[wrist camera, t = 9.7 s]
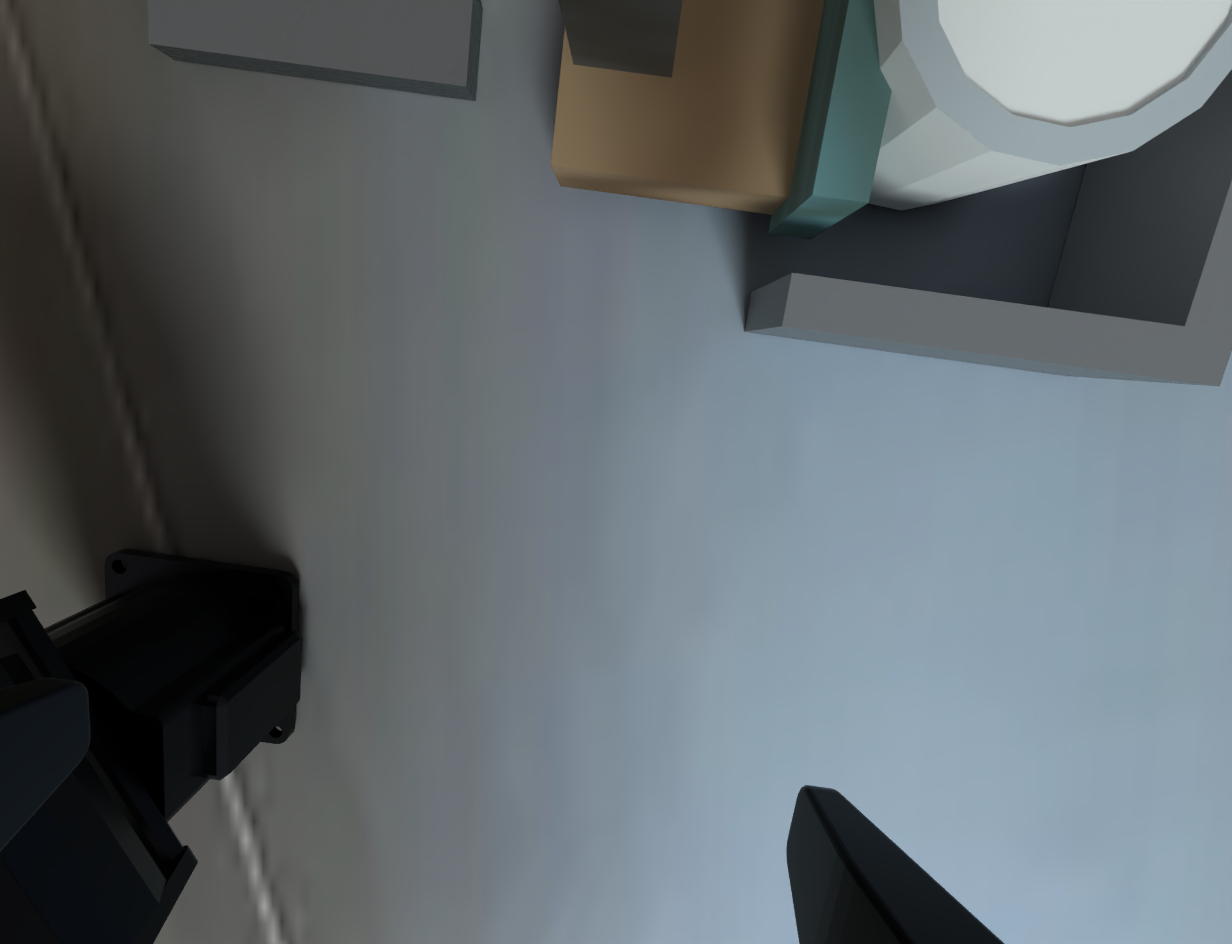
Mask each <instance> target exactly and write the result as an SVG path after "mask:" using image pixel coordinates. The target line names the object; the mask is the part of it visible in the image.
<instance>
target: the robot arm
mask: <svg viewBox="0 0 1232 944" xmlns="http://www.w3.org/2000/svg"><path fill="white" fill-rule="evenodd" d="M121 561H123V562H124V563H125V564H126V568H124V566H123V565H122V562H121ZM278 582H279V583H282V584H283V585H284V586H285V590H286V591H285V592H284V591H282V590H280V589H279V587H278V584H277V583H278ZM105 585H106V600H104V601H101V602H99V603H97V604H95V605H93V606H91V607H89V608H87V609H85V610H82V611H80V612H78V613H76V614H74V615H72V616H70V617H68V618H66V619H64V620H61V621H59V622H57V623H55V624H53V625H51V626H49V627H47V628H45V629H44V628H43V626H42V625H41V623H40V622H39V620H38V618H37V617H36V615H35V614H34V612H33V611H32V610H33V609H35V608H37V607H36V606H35V604H34V603H33V601H32V599H31V598H30V596H29V595H28V593H27V592H26V590H23V591H21V592H18V593H15V594H13V595H10V596H8V597H5V598H2V599H0V944H153V943H154V941H155V939H156V937H157V936H158V934H159V932H160V930H161V928H162V926H163V925H164V923H165V921H166V919H167V917H168V916H169V914H170V912H171V910H172V908H173V906H174V905H175V903H176V901H177V899H178V897H179V896H180V894H181V892H182V890H183V888H184V886H185V885H186V883H187V881H188V879H189V877H190V876H191V874H192V872H193V870H194V868H195V867H196V865H197V862H198V861H197V859H196V858H195V856H194V855H193V853H192V851H191V850H190V848H189V847H188V846H187V845H186V846H182V844H181V843H180V841H179V840H178V838H177V837H176V835H175V833H174V832H173V830H172V829H171V827H170V826H169V824H168V821H169V820H170V819H171V818H172V817H173V816H174V815H175V814H176V813H177V812H178V811H179V810H180V809H181V808H182V807H183V806H184V805H185V804H186V803H187V802H188V801H189V800H190V799H191V798H192V797H193V796H194V795H195V794H196V793H197V792H198V791H199V790H200V789H201V788H202V787H203V786H204V785H205V784H206V783H207V781H208V780H209V779H214V780H221V779H223V778H224V777H226V776H227V775H228V774H230V773H231V772H232V771H233V770H234V769H235V768H236V767H237V765H238V764H239V763H240V762H241V761H242V760H243V759H244V758H245V757H246V756H247V755H248V754H249V753H250V752H251V751H252V750H253V749H254V748H255V747H256V746H257V745H258V744H259V742H266V743H273V744H280V743H283V742H285V741H286V740H287V738H288V737H289V736H290V735H291V734H292V733H293V732H294V729H295V714H296V704H297V703H298V702H299V700H300V685H301V651H302V639H301V637H300V635H299V633H298V607H299V584H298V580H297V579H296V577H295V576H294V575H292V574H291V573H289V572H286V571H280V570H273V569H266V568H259V567H251V566H244V565H237V564H230V563H223V562H216V561H209V560H202V559H194V558H187V557H180V556H173V555H166V554H159V553H152V552H145V551H137V550H130V549H123V550H120V551H118V552H115V553H113V554H111V555H109V556H108V557H107V558H106V560H105ZM275 726H279V727H280V728H281V729H282V731H280V730H278V729H277V728H276V727H275ZM787 865H788V872H789V878H790V885H791V891H792V898H793V904H794V911H795V917H796V924H797V930H798V937H799V944H1004V943H1003V942H1002V941H1001V940H1000V939H999V938H998V937H997V936H995V935H994V934H993V933H992V932H991V931H990V930H989V929H988V928H987V927H986V926H984V925H983V924H982V923H981V922H980V921H979V920H978V919H977V918H976V917H975V916H974V915H972V914H971V913H970V912H969V911H968V910H967V909H966V908H965V907H964V906H963V905H962V904H960V903H959V902H958V901H957V900H956V899H955V898H954V897H953V896H952V895H951V894H950V893H948V892H947V891H946V890H945V889H944V888H943V887H942V886H941V885H940V884H939V883H938V882H936V881H935V880H934V879H933V878H932V877H931V876H930V875H929V874H928V873H927V872H926V871H924V870H923V869H922V868H921V867H920V866H919V865H918V864H917V863H916V862H915V861H913V860H912V859H911V858H910V857H909V856H908V855H907V854H906V853H905V852H904V851H903V850H901V849H900V848H899V847H898V846H897V845H896V844H895V843H894V842H893V841H892V840H891V839H889V838H888V837H887V836H886V835H885V834H884V833H883V832H882V831H881V830H880V829H879V828H877V827H876V826H875V825H874V824H873V823H872V822H871V821H870V820H869V819H868V818H867V817H865V816H864V815H863V814H862V813H861V812H860V811H859V810H858V809H857V808H856V807H855V806H853V805H852V804H851V803H850V802H849V801H848V800H847V799H846V798H845V797H844V796H842V795H841V794H840V793H839V792H838V791H836V790H834V789H831V788H824V787H817V786H810V785H805V786H804V787H802V788H801V789H800V791H799V793H798V796H797V800H796V805H795V809H794V813H793V818H792V822H791V827H790V831H789V835H788V840H787Z"/></svg>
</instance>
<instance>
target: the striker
mask: <svg viewBox="0 0 1232 944" xmlns="http://www.w3.org/2000/svg"><path fill="white" fill-rule="evenodd" d="M559 2H560V7H561V11H562V16H563V20H564V25H565V31H564V41H563V50H562V60H561V70H560V79H559V89H558V99H557V108H556V118H555V127H554V137H553V147H552V156H551V167H552V169H553V171H554V173H555V175H556V177H557V180H558V182H559V184H560V186H564V187H572V188H579V189H587V190H594V191H601V192H609V193H616V194H623V195H631V196H638V197H645V198H653V199H660V200H667V201H675V202H682V203H689V204H697V205H704V206H711V207H719V208H726V209H734V210H741V211H748V212H756V213H763V214H770V215H771V221H770V227H769V232H768V233H769V234H777V235H784V236H791V237H799V238H806V239H811V238H813V237H815V236H816V235H818V234H819V233H821V232H823V231H824V230H826V229H827V228H829V227H831V226H832V225H834V224H835V223H837V222H839V221H840V220H842V219H843V218H845V217H847V216H848V215H850V214H851V213H853V212H855V211H856V210H858V209H859V208H861V207H863V206H864V205H866V204H867V203H869V199H870V194H871V189H872V185H873V180H874V175H875V170H876V165H877V160H878V155H879V151H880V146H881V141H882V136H883V131H884V126H885V122H886V117H887V112H888V107H889V102H890V97H891V93H892V90H891V88H890V87H889V85H888V83H887V81H886V79H885V77H884V75H883V73H882V71H881V69H880V62H879V52H878V41H877V31H876V20H875V10H874V0H559Z"/></svg>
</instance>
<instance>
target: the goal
mask: <svg viewBox="0 0 1232 944" xmlns="http://www.w3.org/2000/svg"><path fill="white" fill-rule="evenodd" d="M745 332H751V333H758V334H765V335H772V336H780V337H787V338H794V339H802V340H809V341H816V342H823V343H831V344H838V345H845V346H853V347H860V348H867V349H874V350H882V351H889V352H896V353H904V354H911V355H918V356H925V357H933V358H940V359H947V360H955V361H962V362H969V363H976V364H984V365H991V366H998V367H1006V368H1013V369H1020V370H1027V371H1035V372H1042V373H1049V374H1057V375H1064V376H1074V377H1089V378H1104V379H1118V380H1133V381H1148V382H1163V383H1178V384H1193V385H1208V386H1220V384H1221V381H1222V378H1223V375H1224V372H1225V369H1226V366H1227V363H1228V360H1229V357H1230V354H1231V351H1232V70H1231V71H1230V72H1229V73H1228V75H1227V76H1226V77H1225V78H1224V80H1223V81H1222V82H1221V83H1220V85H1219V86H1218V87H1217V88H1216V90H1215V91H1214V92H1213V93H1212V95H1211V96H1210V97H1209V98H1208V99H1207V101H1206V102H1205V103H1204V104H1203V106H1202V107H1201V108H1199V109H1198V110H1196V111H1195V112H1193V113H1192V114H1190V115H1188V116H1187V117H1185V118H1184V119H1182V120H1181V121H1179V122H1178V123H1176V124H1174V125H1173V126H1171V127H1170V128H1168V129H1167V130H1165V131H1163V132H1162V133H1160V134H1159V135H1157V136H1156V137H1154V138H1152V139H1151V140H1149V141H1148V142H1146V143H1145V144H1143V145H1142V146H1140V147H1138V148H1137V149H1135V150H1134V151H1131V152H1127V153H1124V154H1120V155H1116V156H1112V157H1109V158H1105V159H1101V160H1098V161H1094V162H1090V163H1087V165H1086V169H1085V172H1084V176H1083V180H1082V183H1081V187H1080V191H1079V194H1078V198H1077V202H1076V205H1075V209H1074V213H1073V216H1072V220H1071V224H1070V227H1069V231H1068V235H1067V238H1066V242H1065V245H1064V249H1063V253H1062V256H1061V260H1060V264H1059V267H1058V271H1057V275H1056V278H1055V282H1054V286H1053V289H1052V293H1051V297H1050V300H1049V304H1048V308H1047V307H1039V306H1032V305H1025V304H1017V303H1010V302H1003V301H996V300H988V299H981V298H974V297H966V296H959V295H952V294H944V293H937V292H930V291H922V290H915V289H908V288H900V287H893V286H886V285H878V284H871V283H864V282H856V281H849V280H842V279H835V278H827V277H820V276H813V275H805V274H798V273H790V274H788V275H786V276H784V277H782V278H780V279H778V280H776V281H774V282H772V283H770V284H767V285H765V286H763V287H761V288H759V289H757V290H755V291H753V292H751V298H750V303H749V309H748V315H747V321H746V326H745Z"/></svg>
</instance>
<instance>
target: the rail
mask: <svg viewBox="0 0 1232 944" xmlns="http://www.w3.org/2000/svg"><path fill="white" fill-rule="evenodd" d="M482 12H483V9H482V7H481V5H480V2H479V0H148V42H149V44H150V45H151V46H153V47H155V48H156V49H158V50H159V51H161V52H163V53H164V54H166V55H168V56H169V57H171V58H172V59H174V60H177V61H184V62H192V63H199V64H206V65H214V66H221V67H229V68H236V69H243V70H251V71H258V72H265V73H273V74H280V75H288V76H295V77H302V78H310V79H317V80H325V81H332V82H339V83H347V84H354V85H362V86H369V87H376V88H384V89H391V90H399V91H406V92H413V93H421V94H428V95H435V96H443V97H450V98H458V99H465V100H472V101H476V88H477V76H478V63H479V50H480V37H481V24H482Z"/></svg>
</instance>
